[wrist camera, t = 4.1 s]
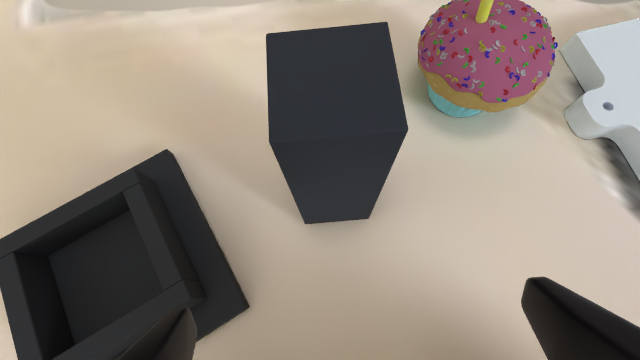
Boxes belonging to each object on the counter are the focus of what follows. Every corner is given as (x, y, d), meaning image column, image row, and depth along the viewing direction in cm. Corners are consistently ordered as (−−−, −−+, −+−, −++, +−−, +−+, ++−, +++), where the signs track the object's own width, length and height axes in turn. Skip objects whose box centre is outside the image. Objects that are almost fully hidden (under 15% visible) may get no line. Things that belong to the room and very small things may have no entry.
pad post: (368, 218, 22) (409, 130, 10) (305, 224, 22) (268, 143, 10) (361, 159, 24) (387, 20, 12) (301, 165, 24) (265, 32, 12)
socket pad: (250, 307, 21) (234, 310, 18) (58, 430, 19) (0, 459, 16) (173, 153, 25) (148, 132, 22) (8, 243, 23) (-47, 235, 20)
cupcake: (397, 127, 25) (450, -13, 13) (411, 41, 27) (465, -137, 16) (513, 147, 24) (676, 15, 12) (516, 55, 26) (652, -122, 15)
